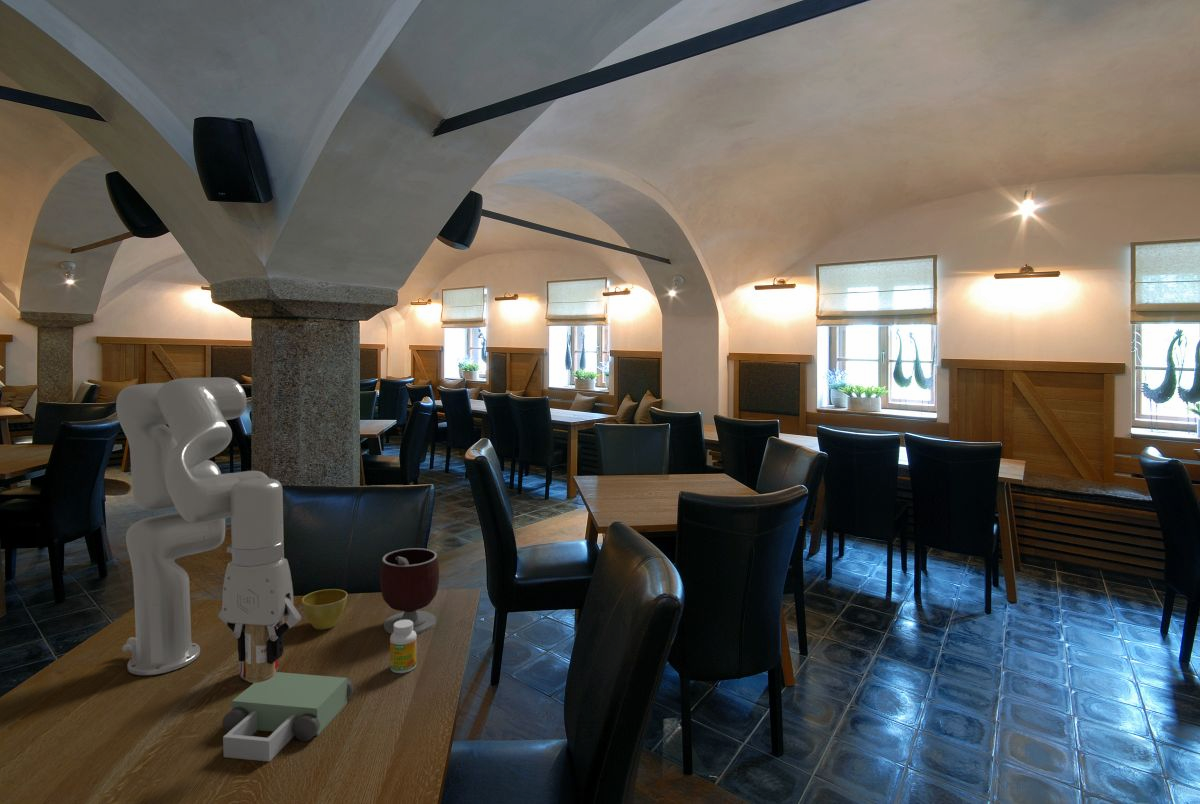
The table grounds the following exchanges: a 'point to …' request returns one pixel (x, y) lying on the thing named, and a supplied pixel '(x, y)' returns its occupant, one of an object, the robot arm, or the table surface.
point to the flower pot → (324, 607)
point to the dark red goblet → (410, 586)
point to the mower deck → (282, 713)
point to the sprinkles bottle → (257, 654)
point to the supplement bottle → (403, 647)
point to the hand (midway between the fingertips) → (260, 657)
